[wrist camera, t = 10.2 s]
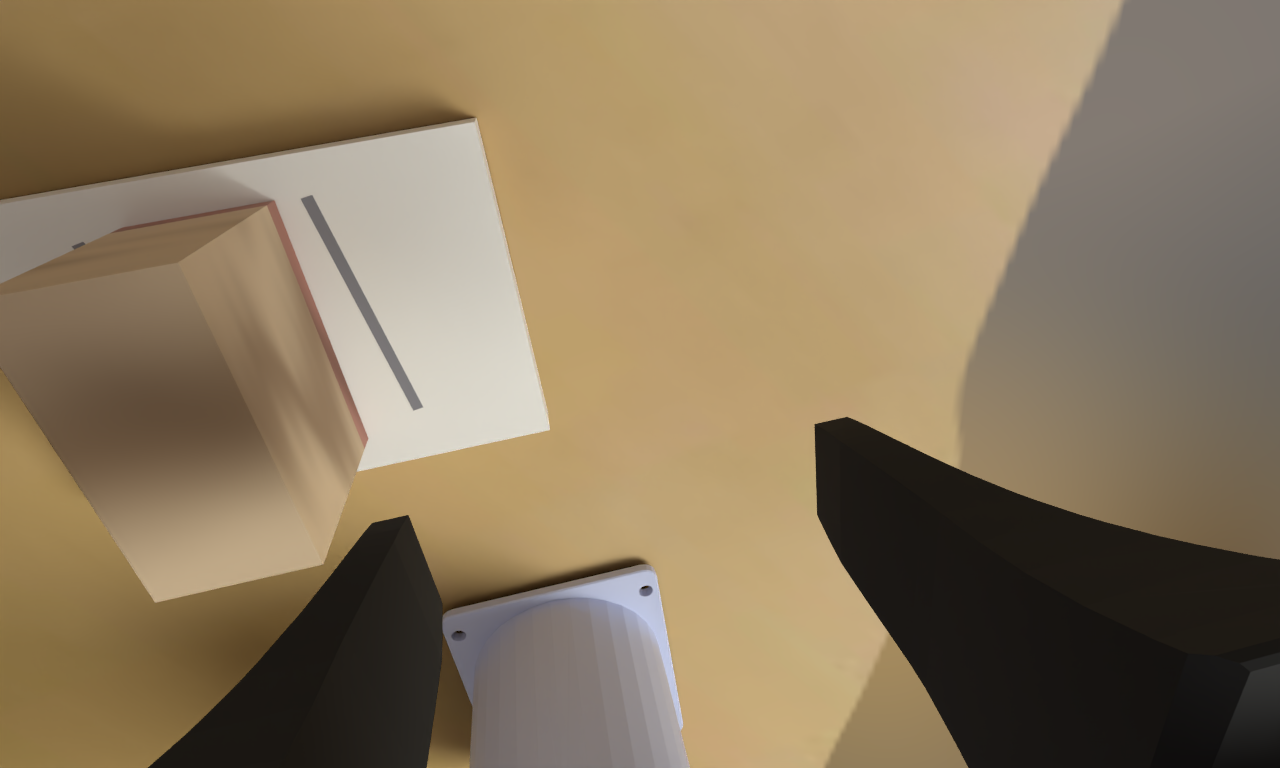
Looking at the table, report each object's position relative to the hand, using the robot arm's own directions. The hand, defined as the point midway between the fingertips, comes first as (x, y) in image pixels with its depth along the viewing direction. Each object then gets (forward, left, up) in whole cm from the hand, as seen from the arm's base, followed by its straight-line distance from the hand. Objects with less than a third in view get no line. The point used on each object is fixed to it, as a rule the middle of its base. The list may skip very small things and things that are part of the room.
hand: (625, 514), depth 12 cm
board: (+2, +8, -10) cm, 13 cm away
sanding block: (+2, +9, -9) cm, 12 cm away
